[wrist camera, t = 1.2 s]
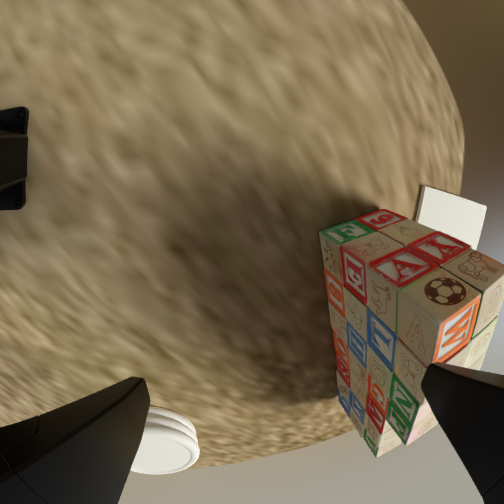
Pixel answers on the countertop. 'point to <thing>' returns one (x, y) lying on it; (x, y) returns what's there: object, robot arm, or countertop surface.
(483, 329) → the stack of blocks
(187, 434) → the white ridged disc
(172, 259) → the countertop surface
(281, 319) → the countertop surface
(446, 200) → the mat
